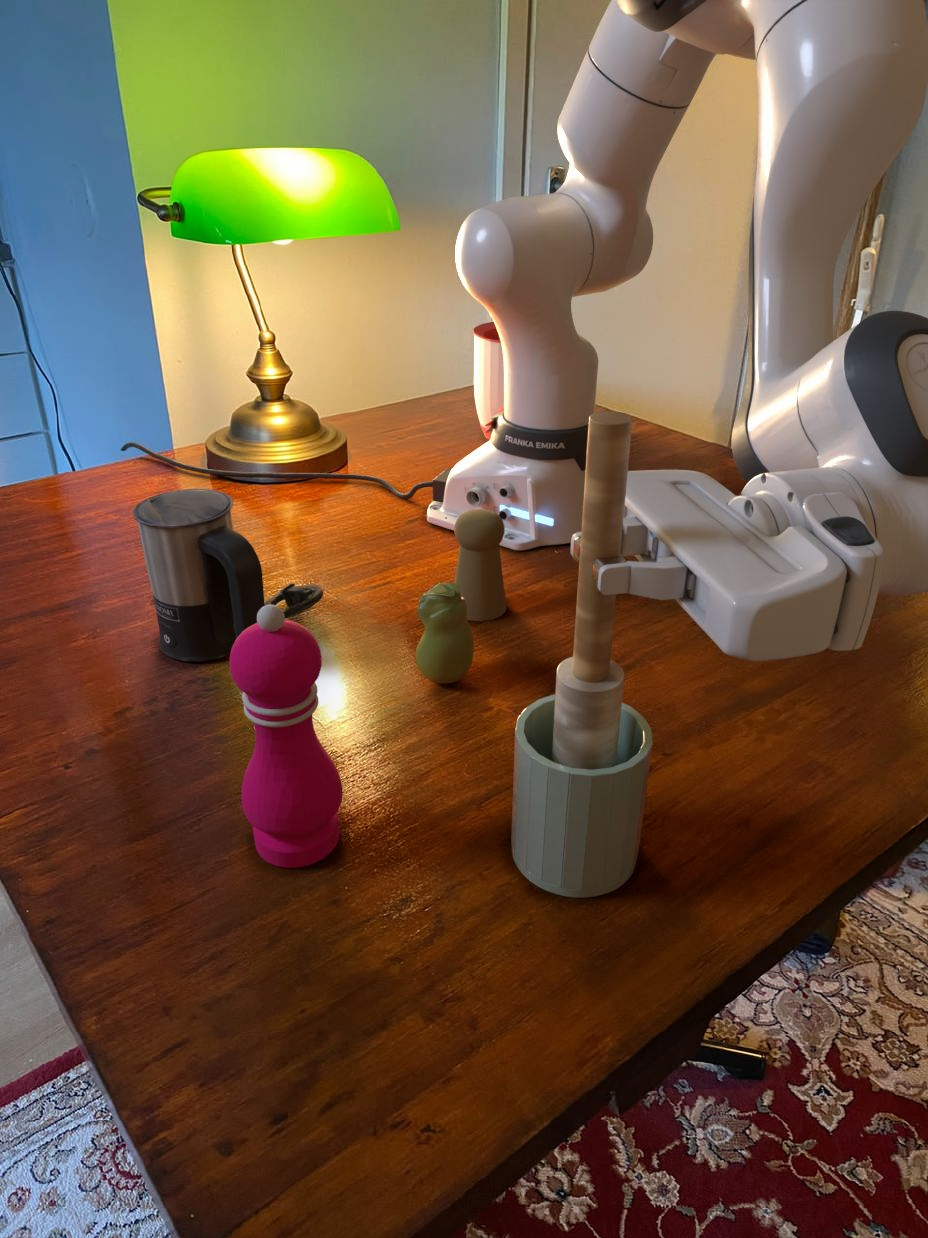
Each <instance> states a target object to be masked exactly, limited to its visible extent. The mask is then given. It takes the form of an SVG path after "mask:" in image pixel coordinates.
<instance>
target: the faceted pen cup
mask: <svg viewBox="0 0 928 1238" xmlns="http://www.w3.org/2000/svg"><path fill="white" fill-rule="evenodd" d="M554 711H555V693H554V694H551V695H548V696H544V697H542V698H539V699H537V700H535V701H534V702H532V703H530V704H529V705H528V706H526V707H525V708H524V709H523V710H522V712H521V713H520V714H519V716H518V717H517V719H516V722H515V723H516V724H515V729H514V730H515V731H514V752H513V754H514V755H513V778H512V779H513V781H512V783H513V784H512V807H511V809H512V811H511V832H510V833H511V837H510V840H511V841H510V844H511V855H512V859H513V861H514V863H515V865H516V867H517V869H518V870H519V872H520V873H521V874H522V875H523V876H524V878H526V879H527V880H528V881H529V882H530V883H532V884H534V885H535V886H536V887H538V888H540V889H542V890H544V891H546V892H548V893H551V894H554V895H557V896H561V897H565V898H566V897H567V898H575V899H578V898H579V899H581V898H583V899H584V898H585V899H586V898H594V897H599V896H603V895H607V894H609V893H611V892H613V891H616V890H617V889H618V888H620V887H622V886H623V885H624V884H625V883H626V882H627V881H628V880H629V879H630V878H631V876H632V875H633V873H634V871H635V869H636V866H637V860H638V857H639V851H640V845H641V844H640V843H641V836H642V827H643V823H644V822H643V820H644V813H645V805H646V799H647V791H648V783H649V776H650V775H649V774H650V767H651V759H652V753H653V752H652V751H653V745H654V740H653V729H652V728H651V726H650V724H649V723H648V721H647V719H646V718H645V717H644V716H643V715H642V714H641V713H639V712H638V711H637V710H636V709H635V708H634V707H632V706H630V705H629V704H626V703H624V702H622V708H621V717H620V727H619V737H618V747H617V757H616V763H615V765H614V767H611V768H602V769H594V770H589V769H578V768H571V767H567V766H564V765H561V764H557V763H554V761H553V758H552V746H553V728H554Z"/></svg>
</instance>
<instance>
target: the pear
mask: <svg viewBox="0 0 928 1238" xmlns="http://www.w3.org/2000/svg"><path fill="white" fill-rule="evenodd" d="M417 605H418V606H417V617H418V619H419V620H420V621H421V623H423V626H424V632H423V634H422V635H421V638H420V639H419V642H418V643H417V646H416V649H415V653H414V654H415V657H414V658H415V664H416V666H417V669H418V671H419V672H420V674H421V675H422V676H423V677H424V678H425V679H427V680H428V681H430V682H432V683H436V684H439V685H449V684H453V683H456V682H458V681H459V680H461V679H462V678H464V677H465V676H466V675H467V673H468V672H469V670H470V669H471V665H472V662H473V658H474V650H475V649H474V648H475V647H474V646H475V643H474V634H473V630H472V627H471V625H470V623H469V620H467V606H466V602H465V599H464V597H461V596H460V589H459V587H458V586H457V585H456V584H454V582H444V583H442V582H436V583H435V584H434V585H433V586H431V587H430V588H429V589H428V590H426V591H425V592H423V594H421V596H420V598H419V600H418V601H417Z"/></svg>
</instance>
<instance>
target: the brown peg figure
mask: <svg viewBox="0 0 928 1238" xmlns="http://www.w3.org/2000/svg"><path fill="white" fill-rule="evenodd" d="M504 529H505V527H504V523H503V521H502V519H501V517H500V516H499V515H498V514H497V513H495V512H492V511H490V510H485V509H474V510H469V511H466V512H464V513H462V514H461V515H459V517H458V518H457V520H456V522H455V526H454V530H453V531H454V536H455V539H456V541H457V543H458V544H459V546H458V553H457V560H456V569H455V576H454V582H453V583H454V584H456V585H457V586H458V587H459V589H460V596H461V597H464V599H465V602H466V606H467V621H472V622H487V621H492V620H496V619H497V618H499V617H502V616H503V615H504V614H505V613H506V610H507V601H506V600H507V599H506V593H505V585H504V584H505V583H504V577H503V568H502V559H501V552H500V551H501V550H500V545H499V544H500V543H501V541H502V539H503V535H504Z"/></svg>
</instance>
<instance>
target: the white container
mask: <svg viewBox="0 0 928 1238" xmlns="http://www.w3.org/2000/svg"><path fill="white" fill-rule="evenodd" d="M472 334H473V337H474V339H473V340H474V341H473V343H474V344H473V345H474V347H473V352H474V353H473V356H474V357H473V361H474V362H473V391H474V392H473V393H474V402H475V408H476V413H477V416H478V420H479V425H480V427H481V430H482V432H483V434H484V437H485V438H486V439H487V440H488V441H490V439H491V431H489V432H488V433H485V430H486V428H487V427H488V426H485V424H486V423H488V422H489V421H491V418H492V417H493V416H495V415H497V414H498V413H499V410H500V409H501V408H502V407H504V357H503V350H502V345H501V340H500V337H499V334H498V331H497V328H496V326H495V324H494V321H489V322H485V323H480V324H478V325H476V326H475V327H474V328H473V329H472Z"/></svg>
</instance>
